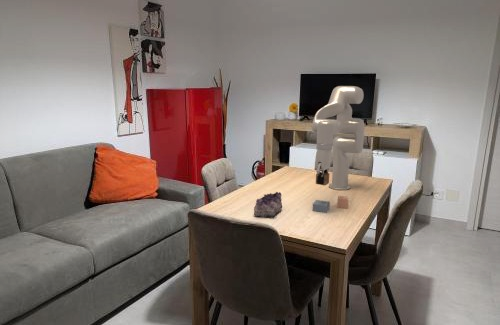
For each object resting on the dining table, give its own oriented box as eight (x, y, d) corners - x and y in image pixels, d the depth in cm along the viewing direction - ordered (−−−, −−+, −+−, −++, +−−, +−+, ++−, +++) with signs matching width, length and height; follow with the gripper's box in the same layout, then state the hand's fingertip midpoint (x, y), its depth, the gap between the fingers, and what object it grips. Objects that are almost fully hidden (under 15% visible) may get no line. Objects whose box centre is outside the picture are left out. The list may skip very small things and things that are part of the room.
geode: (265, 204, 187) (268, 186, 185) (285, 210, 183) (289, 192, 180) (248, 215, 169) (252, 195, 167) (271, 222, 165) (274, 202, 162)
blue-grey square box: (315, 207, 184) (316, 199, 183) (329, 209, 181) (329, 201, 180) (312, 211, 177) (312, 203, 176) (326, 213, 175) (326, 205, 174)
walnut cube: (319, 181, 179) (319, 172, 178) (328, 183, 177) (329, 173, 176) (315, 183, 175) (316, 174, 174) (325, 185, 173) (325, 175, 171)
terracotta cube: (337, 204, 187) (338, 195, 186) (347, 205, 186) (348, 196, 185) (337, 207, 183) (337, 198, 181) (347, 208, 181) (347, 199, 180)
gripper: (323, 143, 181) (321, 178, 185) (310, 148, 167) (308, 185, 171) (337, 145, 177) (335, 180, 181) (325, 150, 163) (323, 188, 167)
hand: (322, 182), depth 176 cm, fingers closed on walnut cube, 5 cm apart
